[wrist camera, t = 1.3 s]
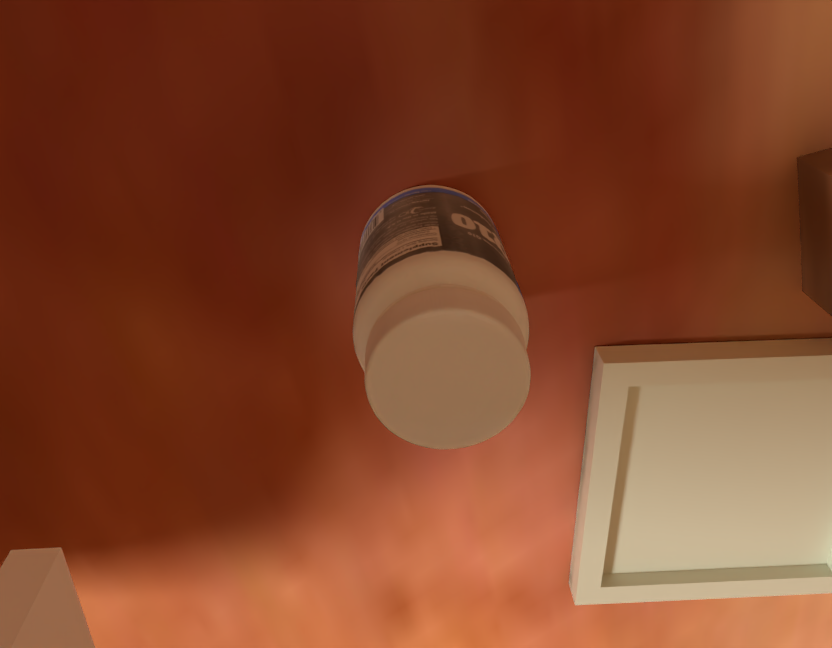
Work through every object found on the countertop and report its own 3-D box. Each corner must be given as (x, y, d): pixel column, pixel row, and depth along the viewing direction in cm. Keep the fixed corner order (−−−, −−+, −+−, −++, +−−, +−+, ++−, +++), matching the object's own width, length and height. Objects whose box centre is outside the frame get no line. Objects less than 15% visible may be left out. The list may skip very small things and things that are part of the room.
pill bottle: (523, 269, 26) (582, 410, 18) (406, 334, 27) (416, 493, 19) (454, 152, 24) (487, 257, 16) (330, 228, 25) (308, 360, 17)
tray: (568, 583, 33) (575, 605, 32) (595, 346, 27) (603, 363, 26) (837, 570, 33) (852, 592, 32) (918, 334, 27) (940, 351, 26)
